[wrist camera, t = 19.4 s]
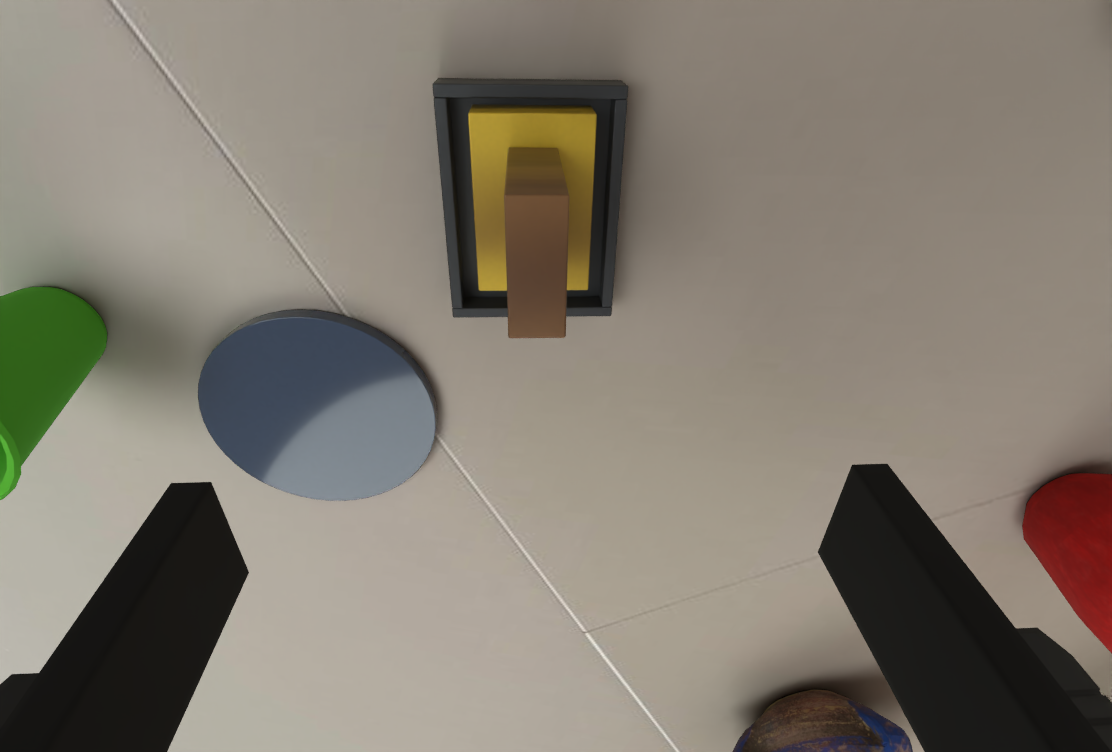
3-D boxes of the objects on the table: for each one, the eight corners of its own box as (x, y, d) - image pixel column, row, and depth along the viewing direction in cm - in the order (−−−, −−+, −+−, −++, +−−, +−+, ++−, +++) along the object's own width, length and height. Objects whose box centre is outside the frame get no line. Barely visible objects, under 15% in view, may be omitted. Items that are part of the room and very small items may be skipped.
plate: (171, 310, 35) (163, 317, 34) (425, 308, 36) (423, 315, 35) (240, 493, 43) (235, 503, 42) (446, 489, 44) (444, 498, 43)
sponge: (471, 103, 29) (450, 150, 20) (591, 105, 30) (621, 152, 21) (481, 273, 34) (467, 369, 25) (584, 272, 34) (605, 367, 26)
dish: (437, 78, 29) (432, 83, 27) (622, 80, 30) (628, 85, 28) (456, 302, 36) (452, 317, 34) (607, 300, 36) (611, 316, 34)
